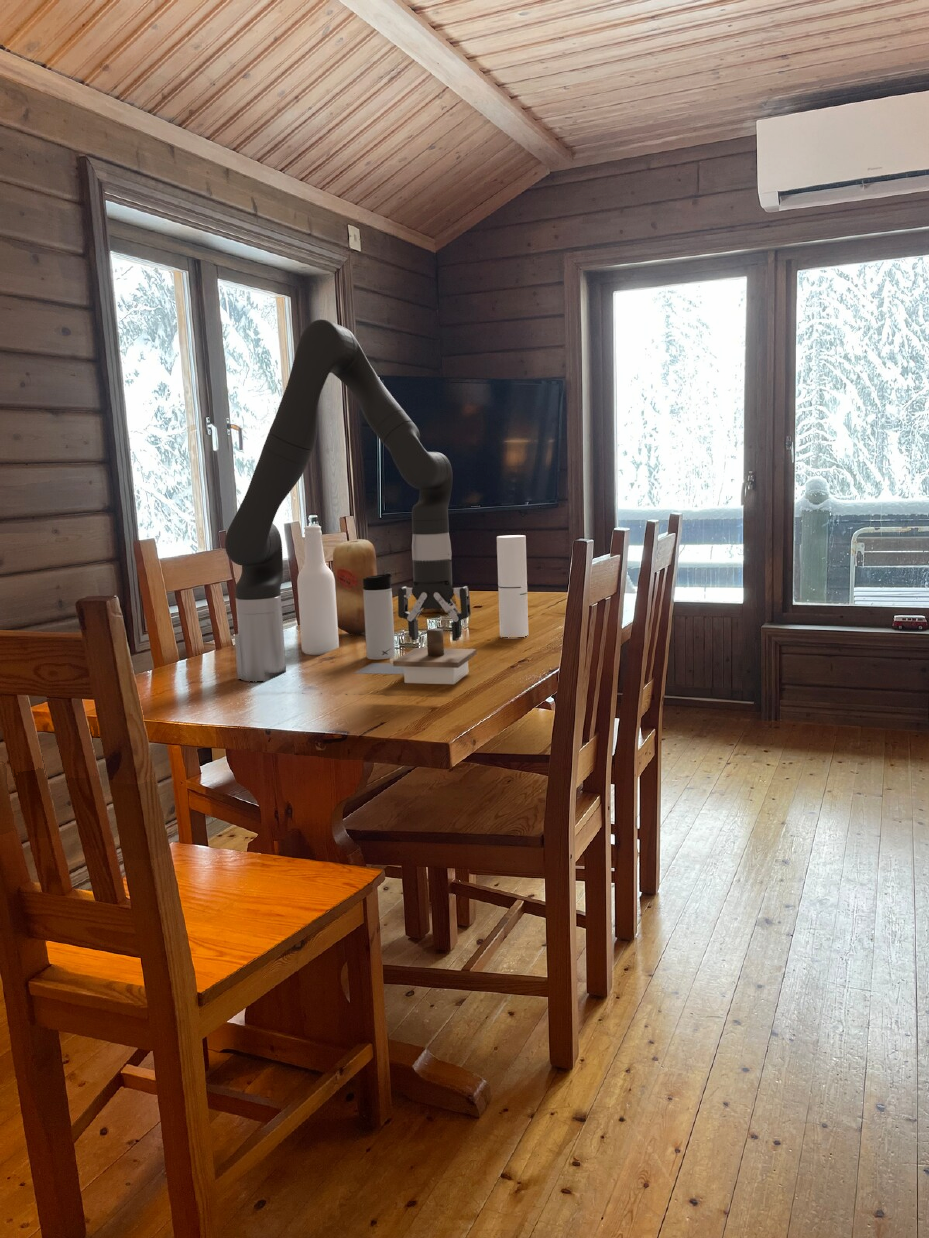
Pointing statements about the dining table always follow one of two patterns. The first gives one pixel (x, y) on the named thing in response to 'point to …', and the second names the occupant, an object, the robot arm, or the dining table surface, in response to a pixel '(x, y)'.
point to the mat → (382, 669)
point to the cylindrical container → (512, 585)
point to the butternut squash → (352, 582)
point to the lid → (435, 654)
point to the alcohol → (317, 598)
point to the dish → (435, 674)
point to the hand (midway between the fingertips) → (435, 639)
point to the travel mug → (379, 616)
